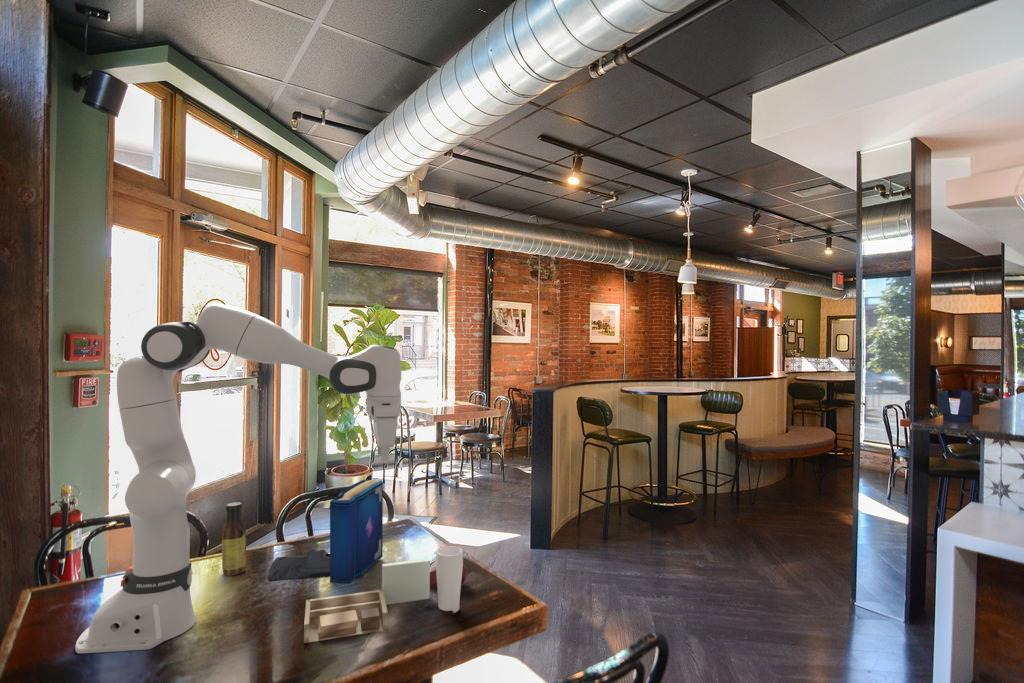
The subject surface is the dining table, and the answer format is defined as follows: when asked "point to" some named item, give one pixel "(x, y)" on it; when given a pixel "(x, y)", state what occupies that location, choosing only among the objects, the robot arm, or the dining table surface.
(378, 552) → the book
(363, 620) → the offcut small
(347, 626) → the offcut top
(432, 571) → the heart
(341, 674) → the dining table surface
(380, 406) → the robot arm
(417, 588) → the sheet
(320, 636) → the offcut low
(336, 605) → the rack
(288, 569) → the dark slate chunk
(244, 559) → the sauce bottle
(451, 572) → the drinking glass
